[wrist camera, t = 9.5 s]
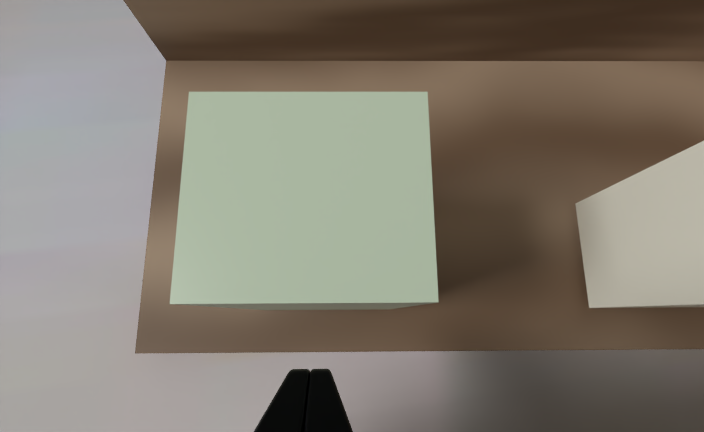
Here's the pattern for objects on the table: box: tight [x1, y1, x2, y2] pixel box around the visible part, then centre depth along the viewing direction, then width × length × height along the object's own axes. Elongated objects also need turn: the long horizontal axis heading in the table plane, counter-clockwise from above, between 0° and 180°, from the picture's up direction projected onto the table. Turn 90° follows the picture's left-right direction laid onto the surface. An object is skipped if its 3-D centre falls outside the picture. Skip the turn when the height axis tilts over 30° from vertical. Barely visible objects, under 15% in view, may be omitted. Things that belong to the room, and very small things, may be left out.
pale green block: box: [170, 92, 439, 310], centre depth 12 cm, size 4×5×8 cm
